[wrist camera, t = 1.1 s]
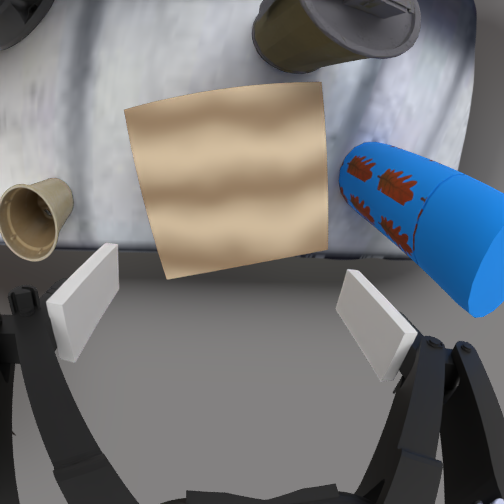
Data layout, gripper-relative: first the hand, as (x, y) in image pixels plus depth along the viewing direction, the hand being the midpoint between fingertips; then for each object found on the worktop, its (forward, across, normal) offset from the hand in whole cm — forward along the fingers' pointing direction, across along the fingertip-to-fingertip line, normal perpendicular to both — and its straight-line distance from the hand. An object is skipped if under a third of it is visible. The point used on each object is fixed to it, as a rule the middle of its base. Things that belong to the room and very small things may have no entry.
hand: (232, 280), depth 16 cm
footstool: (+22, -1, +6) cm, 22 cm away
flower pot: (+21, -24, -1) cm, 32 cm away
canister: (+20, +4, +23) cm, 31 cm away
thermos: (+24, +20, +7) cm, 31 cm away
